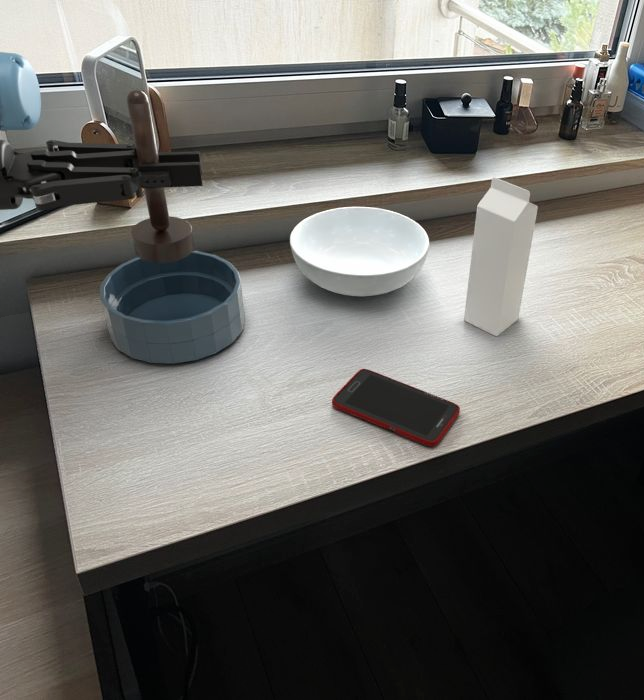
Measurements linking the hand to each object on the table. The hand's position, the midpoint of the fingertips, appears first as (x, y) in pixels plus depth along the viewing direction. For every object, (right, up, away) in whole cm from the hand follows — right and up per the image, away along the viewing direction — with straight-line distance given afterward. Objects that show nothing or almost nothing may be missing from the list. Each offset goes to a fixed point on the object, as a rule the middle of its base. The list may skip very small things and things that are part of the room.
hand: (200, 168), depth 86 cm
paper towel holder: (-6, -9, +5) cm, 12 cm away
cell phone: (+23, -29, +5) cm, 37 cm away
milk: (+35, -17, +22) cm, 45 cm away
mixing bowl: (-8, -18, +13) cm, 24 cm away
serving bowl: (+15, -10, +28) cm, 33 cm away
